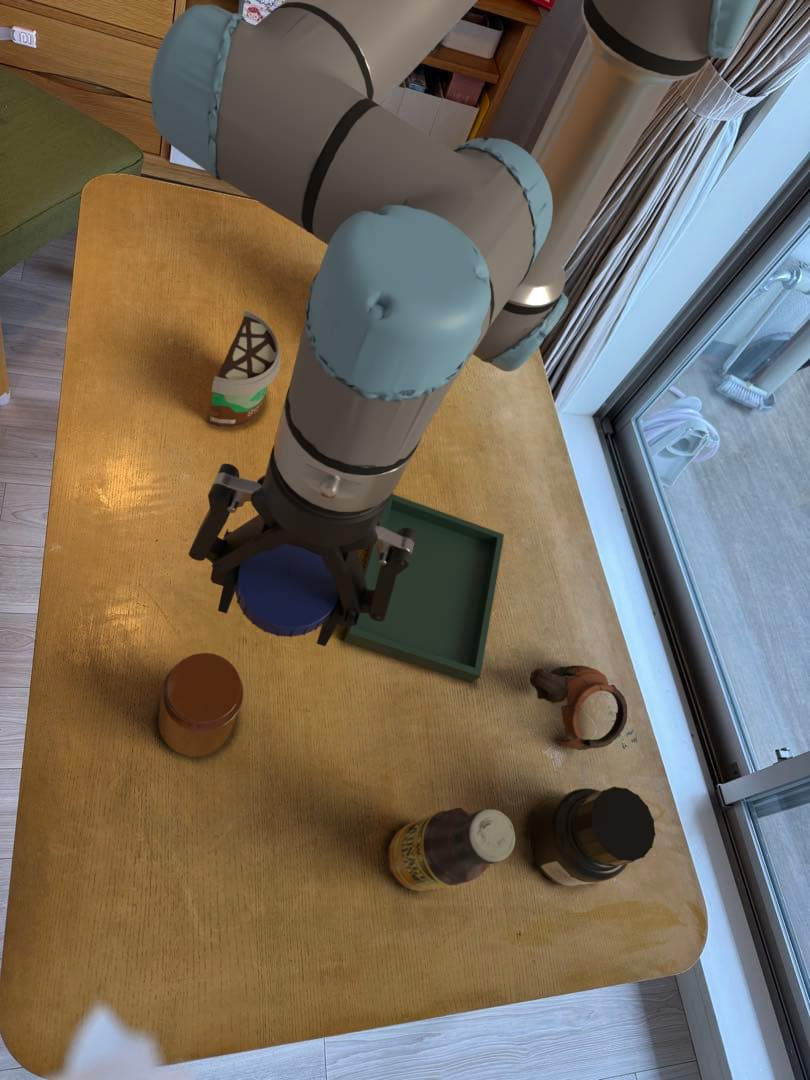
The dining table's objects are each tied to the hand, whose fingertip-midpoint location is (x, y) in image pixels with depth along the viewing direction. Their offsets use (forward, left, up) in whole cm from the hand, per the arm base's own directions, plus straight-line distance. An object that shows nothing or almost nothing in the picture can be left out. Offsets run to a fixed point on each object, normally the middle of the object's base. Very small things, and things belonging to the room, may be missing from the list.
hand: (276, 614), depth 64 cm
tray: (-18, +16, -20) cm, 32 cm away
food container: (-35, -12, -20) cm, 42 cm away
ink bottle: (+6, +37, -20) cm, 43 cm away
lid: (0, 0, +6) cm, 6 cm away
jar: (+5, -4, -20) cm, 21 cm away
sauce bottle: (+12, +21, -20) cm, 31 cm away
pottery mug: (-9, +35, -20) cm, 42 cm away
